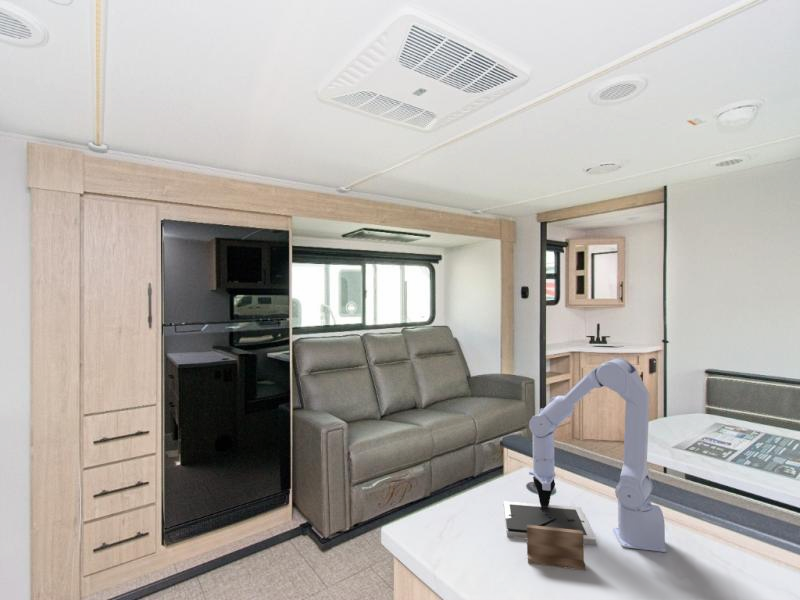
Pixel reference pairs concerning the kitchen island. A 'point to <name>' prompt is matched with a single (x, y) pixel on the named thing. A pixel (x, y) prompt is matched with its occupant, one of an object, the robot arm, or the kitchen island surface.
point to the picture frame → (545, 519)
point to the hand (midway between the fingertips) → (544, 504)
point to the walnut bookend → (555, 547)
